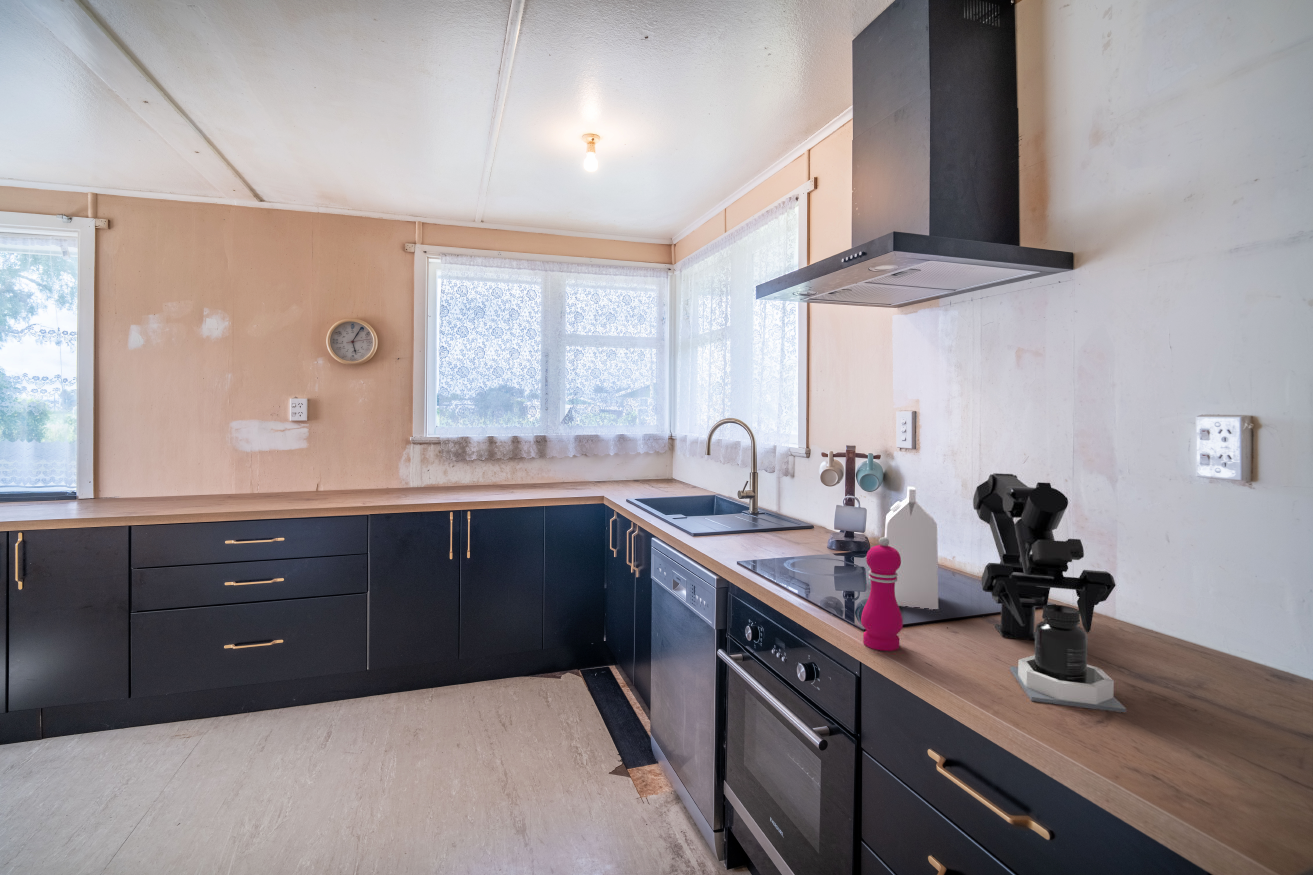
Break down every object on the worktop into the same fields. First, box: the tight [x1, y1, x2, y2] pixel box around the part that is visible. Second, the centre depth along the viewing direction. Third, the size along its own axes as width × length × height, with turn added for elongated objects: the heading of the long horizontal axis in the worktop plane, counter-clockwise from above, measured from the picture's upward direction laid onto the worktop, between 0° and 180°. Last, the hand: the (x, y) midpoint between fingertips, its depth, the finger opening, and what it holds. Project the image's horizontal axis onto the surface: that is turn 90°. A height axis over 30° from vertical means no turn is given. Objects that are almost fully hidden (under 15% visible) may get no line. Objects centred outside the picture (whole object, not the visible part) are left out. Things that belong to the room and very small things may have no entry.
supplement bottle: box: [1034, 604, 1088, 684], centre depth 96 cm, size 7×7×12 cm
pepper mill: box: [860, 536, 904, 652], centre depth 113 cm, size 7×7×20 cm
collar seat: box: [1009, 654, 1127, 713], centre depth 95 cm, size 12×12×3 cm
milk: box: [884, 486, 939, 610], centre depth 142 cm, size 12×12×26 cm
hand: (1055, 628), depth 100 cm, fingers open, 9 cm apart
